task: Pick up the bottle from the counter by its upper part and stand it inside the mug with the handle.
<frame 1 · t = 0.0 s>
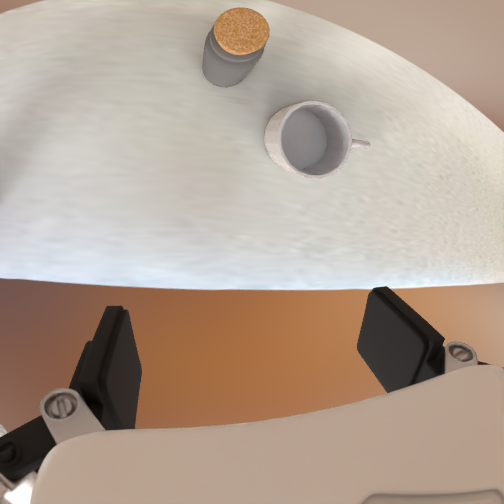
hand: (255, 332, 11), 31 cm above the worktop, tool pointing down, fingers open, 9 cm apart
bottle: (224, 67, 34), on the worktop
mug: (297, 138, 39), on the worktop
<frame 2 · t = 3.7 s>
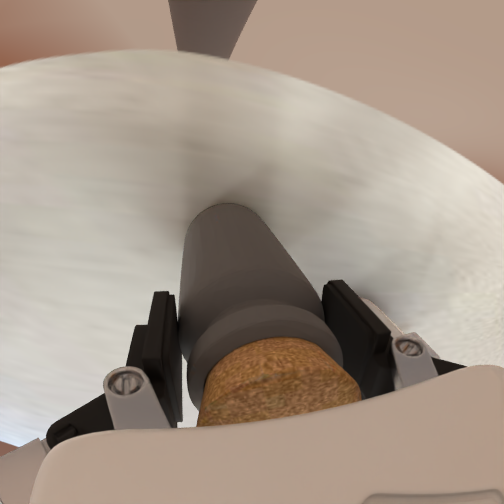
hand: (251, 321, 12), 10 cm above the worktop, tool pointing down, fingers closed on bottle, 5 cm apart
bottle: (226, 243, 21), on the worktop, touching gripper
mug: (339, 340, 26), on the worktop
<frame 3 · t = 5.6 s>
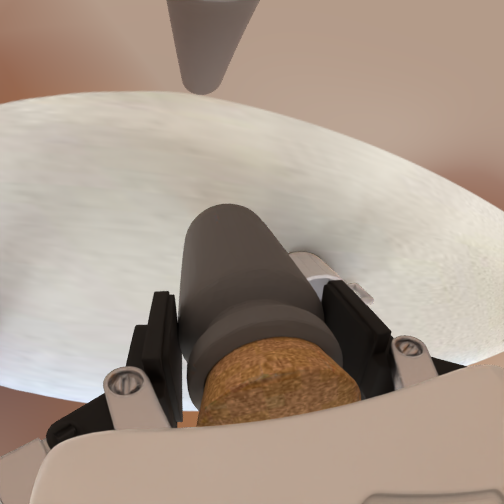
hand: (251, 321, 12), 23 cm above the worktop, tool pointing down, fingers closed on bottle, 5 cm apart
bottle: (226, 243, 21), point 13 cm above the worktop, touching gripper
mug: (296, 285, 38), on the worktop
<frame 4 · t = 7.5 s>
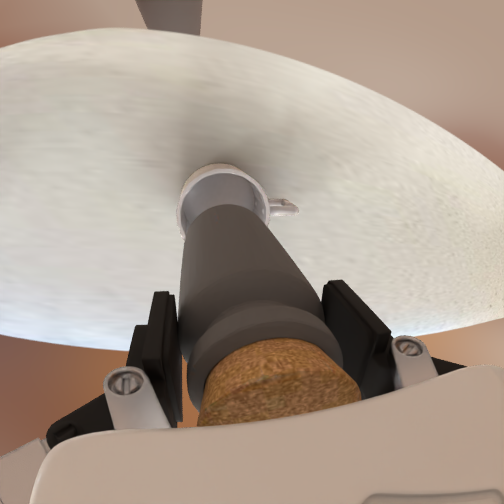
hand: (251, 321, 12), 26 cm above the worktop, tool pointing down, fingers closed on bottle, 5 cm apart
bottle: (226, 243, 21), point 16 cm above the worktop, touching gripper
mug: (218, 201, 36), on the worktop
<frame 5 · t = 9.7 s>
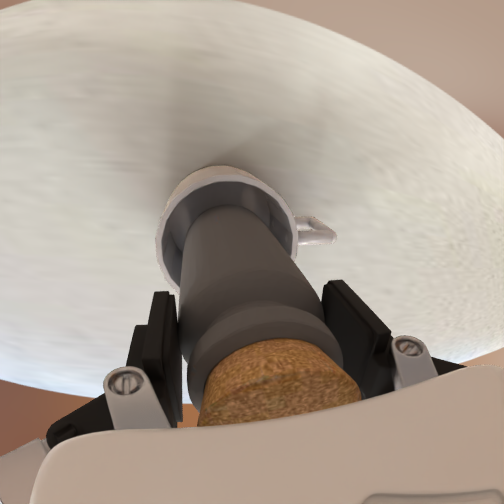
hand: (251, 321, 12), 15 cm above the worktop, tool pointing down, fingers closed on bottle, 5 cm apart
bottle: (226, 244, 21), point 5 cm above the worktop, touching gripper
mug: (219, 219, 26), on the worktop
when the fingers open (10 cm above the worktop, at t = 11.5 s): bottle stays where it is, resting on mug.
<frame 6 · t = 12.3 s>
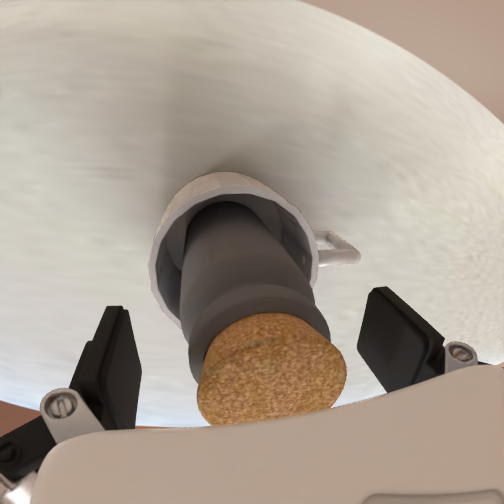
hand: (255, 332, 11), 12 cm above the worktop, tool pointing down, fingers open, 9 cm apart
bottle: (224, 238, 22), resting on mug
mug: (223, 233, 23), on the worktop
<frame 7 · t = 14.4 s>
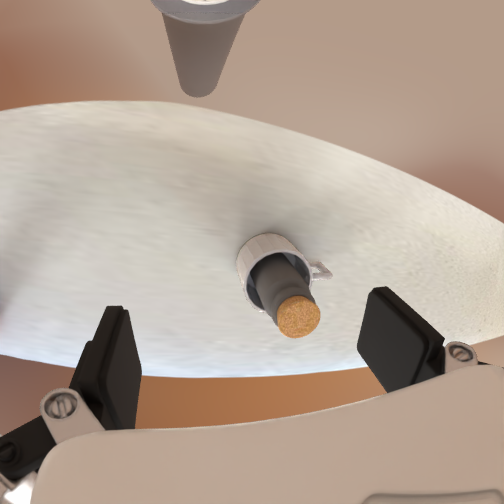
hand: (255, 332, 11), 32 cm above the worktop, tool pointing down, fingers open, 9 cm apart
bottle: (267, 265, 45), resting on mug
mug: (267, 263, 46), on the worktop
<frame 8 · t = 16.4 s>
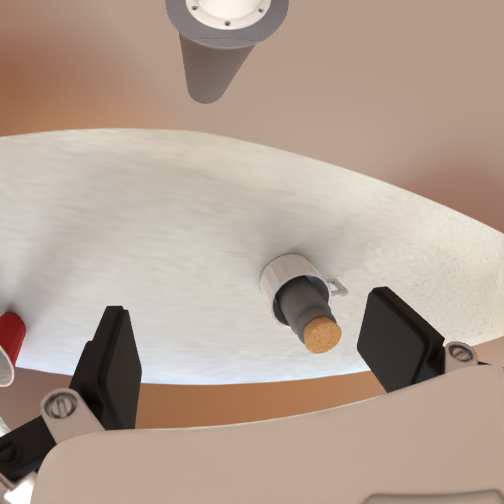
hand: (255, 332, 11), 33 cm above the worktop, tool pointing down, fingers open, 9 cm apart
bottle: (288, 283, 49), resting on mug
plastic cup: (14, 323, 43), on the worktop
mug: (287, 280, 49), on the worktop
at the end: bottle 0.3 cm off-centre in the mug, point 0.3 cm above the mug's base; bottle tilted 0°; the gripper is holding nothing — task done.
